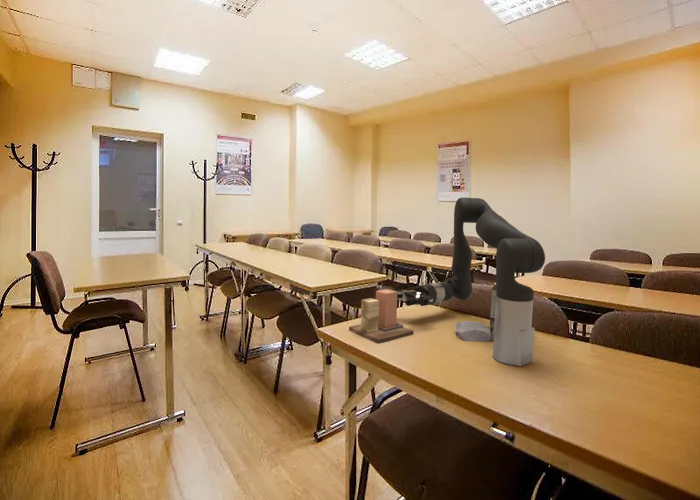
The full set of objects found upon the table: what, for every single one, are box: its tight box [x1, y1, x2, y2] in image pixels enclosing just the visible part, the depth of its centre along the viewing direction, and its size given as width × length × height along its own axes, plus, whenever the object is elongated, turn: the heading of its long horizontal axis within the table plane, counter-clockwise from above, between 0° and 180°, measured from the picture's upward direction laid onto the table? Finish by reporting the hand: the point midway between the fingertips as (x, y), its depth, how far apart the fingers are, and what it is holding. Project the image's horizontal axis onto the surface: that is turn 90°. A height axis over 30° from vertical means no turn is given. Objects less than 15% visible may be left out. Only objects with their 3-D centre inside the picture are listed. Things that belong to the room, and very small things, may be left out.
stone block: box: [455, 320, 491, 343], centre depth 122 cm, size 12×5×10 cm
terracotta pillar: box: [375, 288, 398, 329], centre depth 126 cm, size 5×5×12 cm
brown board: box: [348, 323, 414, 345], centre depth 124 cm, size 15×15×1 cm
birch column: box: [360, 297, 379, 333], centre depth 122 cm, size 4×4×10 cm
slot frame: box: [378, 322, 404, 332], centre depth 126 cm, size 8×8×1 cm
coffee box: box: [489, 284, 496, 341], centre depth 120 cm, size 9×6×16 cm
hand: (397, 300), depth 129 cm, fingers open, 8 cm apart
